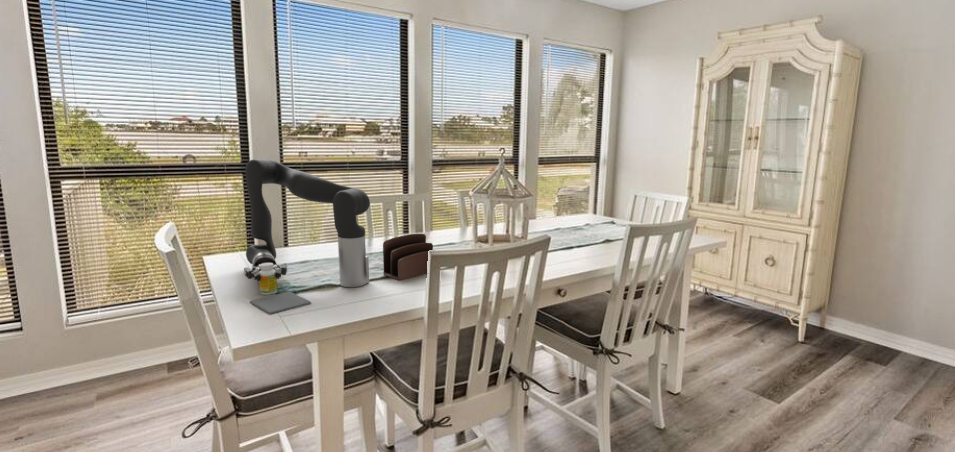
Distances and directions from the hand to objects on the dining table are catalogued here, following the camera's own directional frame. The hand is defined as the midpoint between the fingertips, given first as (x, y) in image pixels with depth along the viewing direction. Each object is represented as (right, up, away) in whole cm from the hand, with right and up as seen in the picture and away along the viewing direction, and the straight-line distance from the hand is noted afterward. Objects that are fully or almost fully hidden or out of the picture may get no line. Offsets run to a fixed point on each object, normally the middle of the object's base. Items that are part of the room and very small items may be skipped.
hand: (268, 276), depth 163 cm
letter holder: (+43, -2, +28) cm, 51 cm away
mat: (+6, -8, -6) cm, 12 cm away
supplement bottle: (-1, -6, +3) cm, 7 cm away
